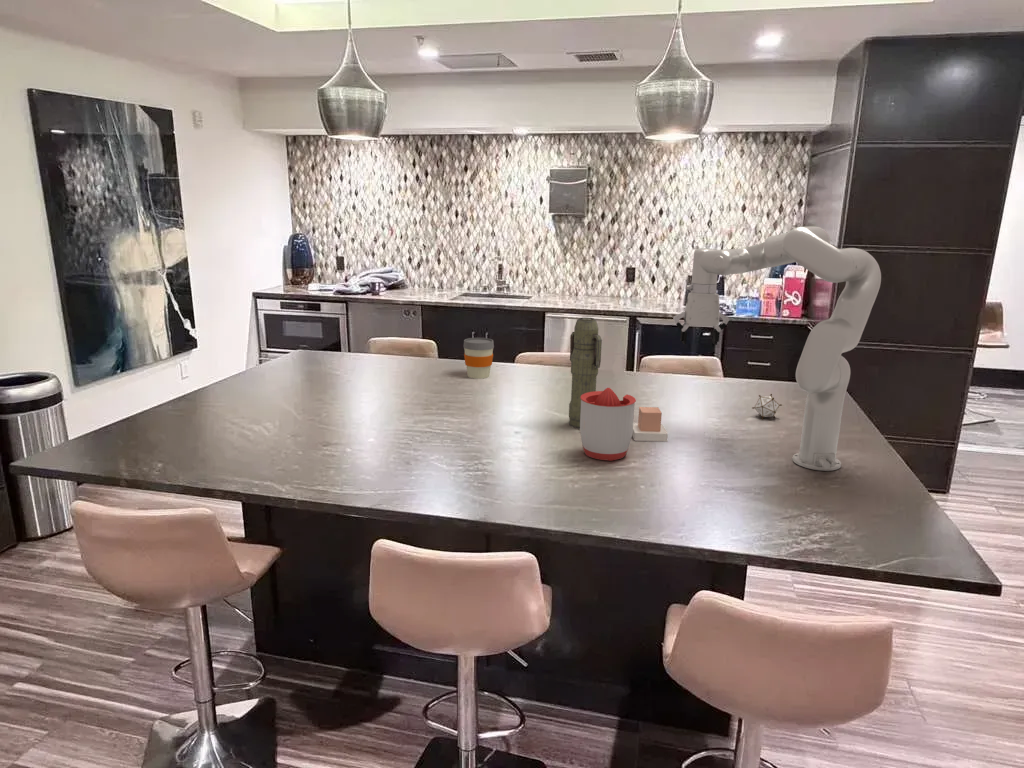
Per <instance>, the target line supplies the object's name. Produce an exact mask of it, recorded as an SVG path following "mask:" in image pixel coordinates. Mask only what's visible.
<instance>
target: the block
mask: <svg viewBox="0 0 1024 768" xmlns="http://www.w3.org/2000/svg"><path fill="white" fill-rule="evenodd" d="M668 435H669V434H668V432H667V429H666V428H665V426H664V424H662V423H661V430H660V432H655V431H640V428H639V426H638V422H633V432H632V438H633V441H635V442H664V443H665V442H668Z"/></svg>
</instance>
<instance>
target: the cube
mask: <svg viewBox="0 0 1024 768" xmlns="http://www.w3.org/2000/svg"><path fill="white" fill-rule="evenodd" d="M637 419H638V420H637V423H638V426H639V428H640V431H655V432H660V430H661V424H662V411H661V409H660V408H659V407H656V406H653V407H652V406H651V407H650V406H648V407H647V406H639V407H638V417H637Z"/></svg>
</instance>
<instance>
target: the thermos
mask: <svg viewBox="0 0 1024 768" xmlns="http://www.w3.org/2000/svg"><path fill="white" fill-rule="evenodd" d="M602 341H603V340H602V337H601V336H600V335H599V326H598V322H597V320H596V319H595V318H593V317H579V318H578V319H576V322H575V325H574V331H572V332H571V334H570V344H569V345H570V347H569V348H570V349H569V350H570V351H569V361H570V374H571V393H570V394H571V395H570V401H569V403H568V405H569V406H568V418H569V419H568V421H569V422H568V426H569V427H571V428H574V429H579V430H580V414H581V399H580V397H581V395H583V394H585V393H588V392H594V391H597V376H598V374H599V369H600V367H601V361H602V344H603V342H602Z"/></svg>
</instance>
